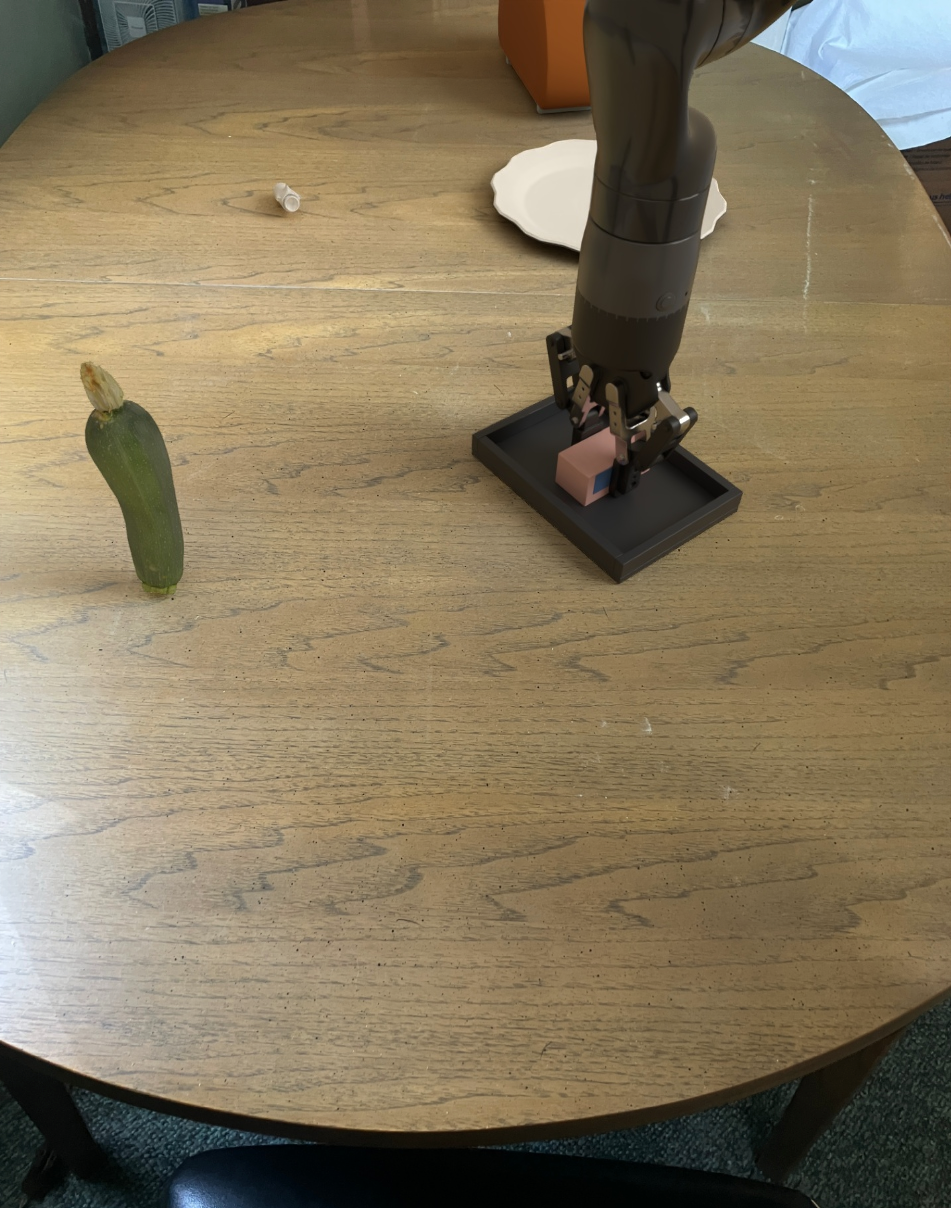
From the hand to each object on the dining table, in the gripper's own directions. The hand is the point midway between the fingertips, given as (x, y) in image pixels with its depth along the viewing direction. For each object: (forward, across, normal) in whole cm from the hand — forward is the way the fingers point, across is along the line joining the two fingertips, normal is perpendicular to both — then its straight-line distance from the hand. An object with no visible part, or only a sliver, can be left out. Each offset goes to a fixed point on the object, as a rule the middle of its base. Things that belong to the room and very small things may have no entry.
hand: (602, 475), depth 75 cm
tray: (+1, 0, 0) cm, 1 cm away
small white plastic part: (+1, +52, -2) cm, 52 cm away
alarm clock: (+1, +60, -46) cm, 76 cm away
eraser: (0, 0, 0) cm, 0 cm away
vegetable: (+1, +10, +32) cm, 34 cm away
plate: (+1, +32, -30) cm, 44 cm away
